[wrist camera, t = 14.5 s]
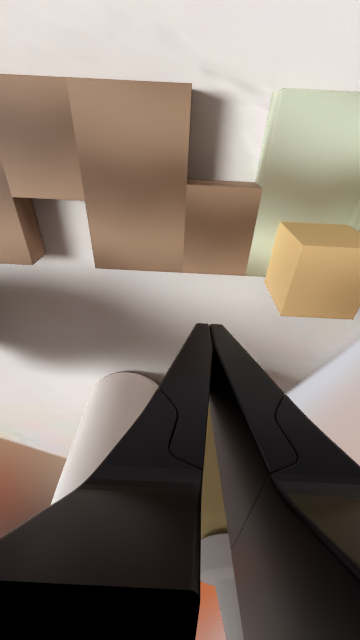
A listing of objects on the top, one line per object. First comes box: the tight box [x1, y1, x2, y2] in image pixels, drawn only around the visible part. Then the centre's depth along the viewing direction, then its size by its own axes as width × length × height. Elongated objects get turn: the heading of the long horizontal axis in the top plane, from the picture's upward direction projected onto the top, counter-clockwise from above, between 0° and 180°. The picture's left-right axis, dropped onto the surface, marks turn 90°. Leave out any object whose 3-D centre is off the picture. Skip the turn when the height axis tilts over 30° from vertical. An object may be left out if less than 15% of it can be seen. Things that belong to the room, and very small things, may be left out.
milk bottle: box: [51, 372, 159, 505], centre depth 20 cm, size 8×8×20 cm
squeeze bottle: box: [200, 407, 244, 640], centre depth 20 cm, size 8×8×18 cm
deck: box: [0, 74, 360, 277], centre depth 15 cm, size 10×27×3 cm, turn 88°
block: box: [265, 221, 360, 319], centre depth 15 cm, size 4×4×4 cm
